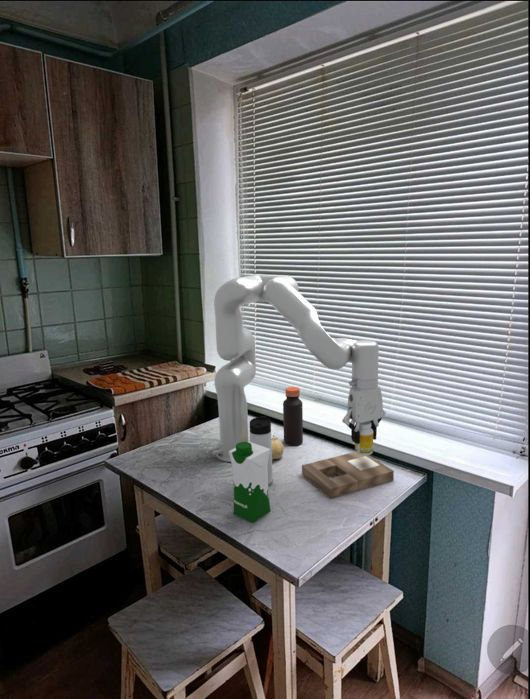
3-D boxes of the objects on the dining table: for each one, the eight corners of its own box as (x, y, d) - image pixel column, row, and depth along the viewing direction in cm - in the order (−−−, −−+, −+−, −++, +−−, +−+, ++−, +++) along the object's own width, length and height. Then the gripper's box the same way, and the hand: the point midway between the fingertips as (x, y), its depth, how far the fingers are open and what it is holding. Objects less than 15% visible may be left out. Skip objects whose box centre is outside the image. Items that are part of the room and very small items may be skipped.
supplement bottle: (351, 451, 142) (351, 422, 140) (362, 446, 146) (362, 417, 144) (365, 457, 138) (365, 426, 136) (376, 452, 142) (377, 422, 140)
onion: (281, 463, 151) (281, 443, 150) (257, 462, 153) (257, 442, 151) (285, 452, 159) (284, 433, 157) (262, 451, 160) (261, 432, 159)
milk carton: (228, 514, 124) (224, 443, 119) (251, 499, 130) (249, 432, 126) (252, 526, 118) (249, 453, 114) (275, 510, 124) (274, 441, 120)
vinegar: (280, 443, 166) (279, 389, 162) (290, 437, 172) (289, 384, 167) (296, 447, 162) (295, 393, 158) (306, 441, 168) (305, 387, 163)
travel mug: (275, 479, 141) (274, 416, 137) (268, 489, 135) (266, 424, 131) (256, 476, 143) (254, 414, 139) (248, 486, 137) (246, 422, 133)
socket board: (330, 498, 130) (330, 488, 129) (302, 474, 144) (301, 464, 143) (393, 480, 139) (393, 470, 138) (360, 458, 153) (360, 449, 152)
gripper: (348, 390, 130) (347, 450, 134) (396, 381, 137) (394, 438, 141) (333, 383, 137) (333, 441, 141) (379, 375, 144) (378, 430, 148)
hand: (364, 439), depth 141 cm, fingers closed on supplement bottle, 5 cm apart
